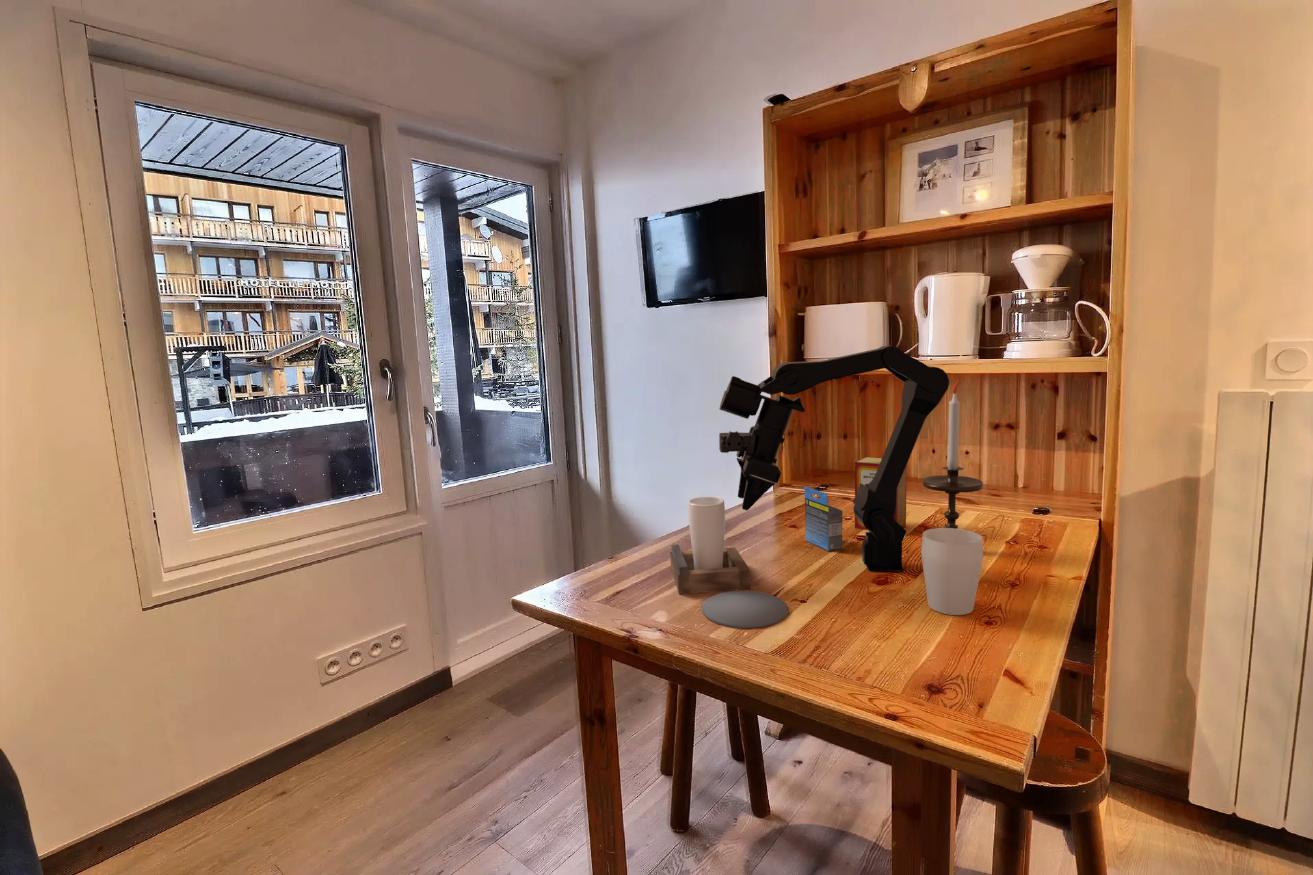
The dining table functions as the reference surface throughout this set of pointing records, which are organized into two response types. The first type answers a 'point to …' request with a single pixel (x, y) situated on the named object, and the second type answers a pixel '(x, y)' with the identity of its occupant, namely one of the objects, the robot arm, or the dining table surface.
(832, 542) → the blue hang tab box
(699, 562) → the drinking glass
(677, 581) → the wooden holder tray
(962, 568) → the cup
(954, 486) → the candlestick
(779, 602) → the slate mat
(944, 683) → the dining table surface
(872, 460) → the baking soda box
